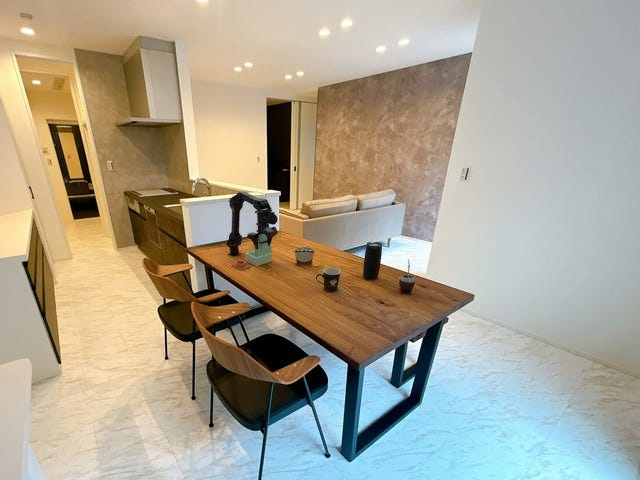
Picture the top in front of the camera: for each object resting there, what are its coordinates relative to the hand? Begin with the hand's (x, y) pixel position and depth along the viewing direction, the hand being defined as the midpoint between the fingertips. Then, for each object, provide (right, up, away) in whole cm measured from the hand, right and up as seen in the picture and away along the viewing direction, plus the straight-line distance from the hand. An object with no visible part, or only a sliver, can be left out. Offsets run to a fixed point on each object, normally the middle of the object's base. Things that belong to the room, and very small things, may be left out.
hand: (263, 247), depth 176 cm
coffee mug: (+34, -24, -24) cm, 48 cm away
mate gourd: (+72, -25, -28) cm, 81 cm away
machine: (-3, -7, +14) cm, 17 cm away
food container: (+25, -9, +9) cm, 29 cm away
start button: (-14, -9, +5) cm, 17 cm away
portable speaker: (+60, -18, -12) cm, 64 cm away
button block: (-14, -11, +6) cm, 19 cm away
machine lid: (-1, +2, +7) cm, 7 cm away
